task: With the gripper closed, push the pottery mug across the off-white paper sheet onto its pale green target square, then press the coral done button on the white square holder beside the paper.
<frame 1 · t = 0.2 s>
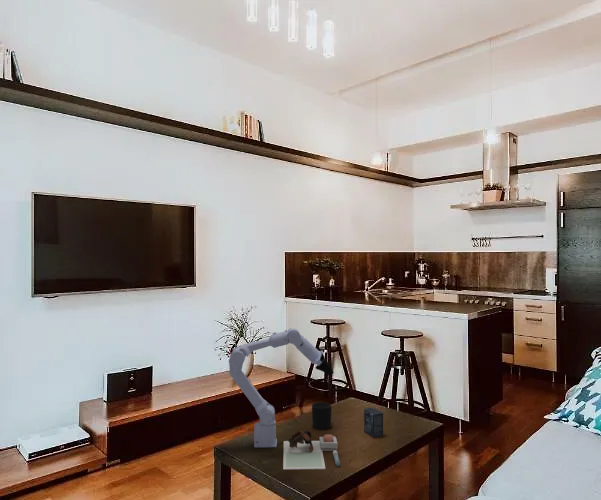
hand: (330, 371, 194), 31 cm above the table, tool tilted 45°, fingers open, 7 cm apart
pen holder: (321, 426, 213), on the table
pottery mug: (302, 449, 187), resting on paper
marker: (336, 460, 176), on the table
paper: (303, 454, 182), on the table
done button: (328, 439, 189), point 3 cm above the table, slide at 0.0 cm
white square holder: (328, 447, 189), on the table
box: (373, 434, 204), on the table
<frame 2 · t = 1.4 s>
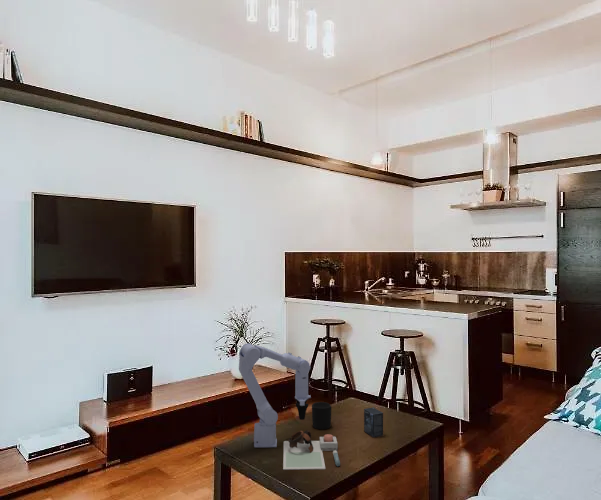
hand: (301, 416, 199), 9 cm above the table, tool pointing down, fingers open, 6 cm apart
nothing on the table moved.
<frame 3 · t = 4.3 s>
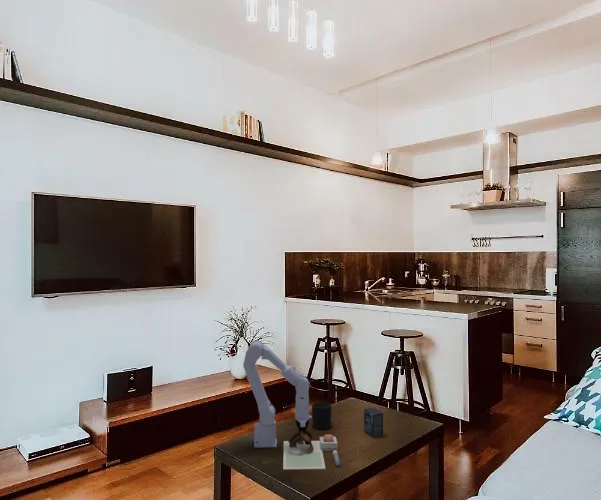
hand: (302, 437, 192), 3 cm above the table, tool pointing down, fingers closed
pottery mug: (302, 449, 186), resting on paper, touching gripper
everything else where it was.
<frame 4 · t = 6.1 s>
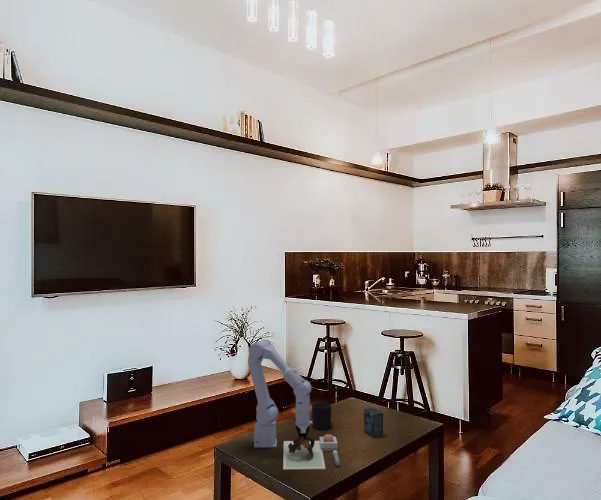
hand: (302, 444, 186), 3 cm above the table, tool pointing down, fingers closed
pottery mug: (303, 455, 180), resting on paper, touching gripper
everything else where it was.
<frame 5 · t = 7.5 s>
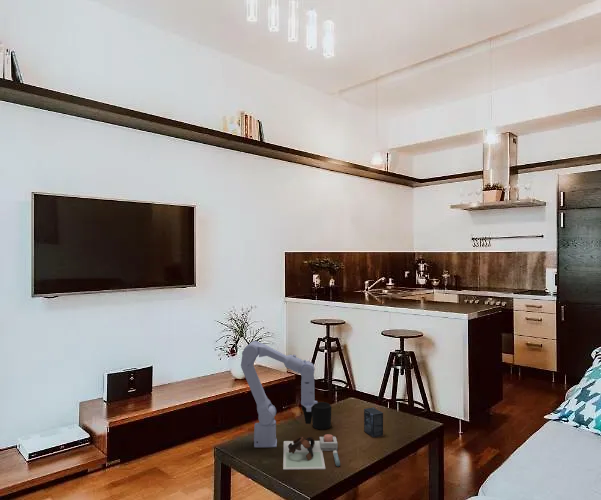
hand: (308, 423, 191), 10 cm above the table, tool pointing down, fingers closed
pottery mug: (303, 455, 180), resting on paper
everything else where it was.
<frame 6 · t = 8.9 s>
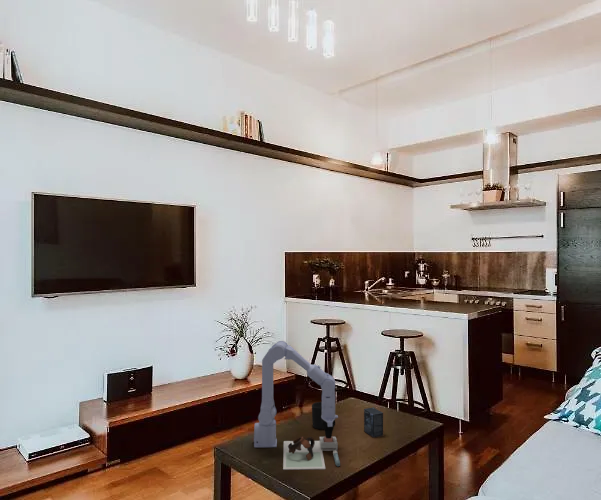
hand: (328, 437, 189), 4 cm above the table, tool pointing down, fingers closed, pressing on done button
done button: (328, 441, 189), point 2 cm above the table, slide at 0.8 cm, touching gripper
everything else where it was.
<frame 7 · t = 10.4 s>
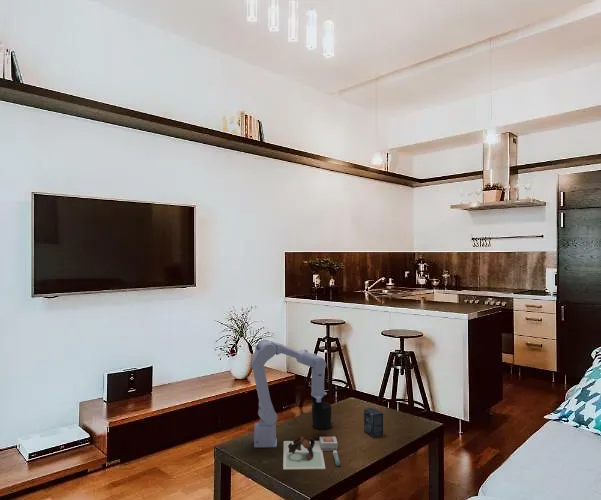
hand: (317, 413, 200), 10 cm above the table, tool pointing down, fingers closed
done button: (328, 442, 189), point 2 cm above the table, slide at 1.0 cm
everything else where it was.
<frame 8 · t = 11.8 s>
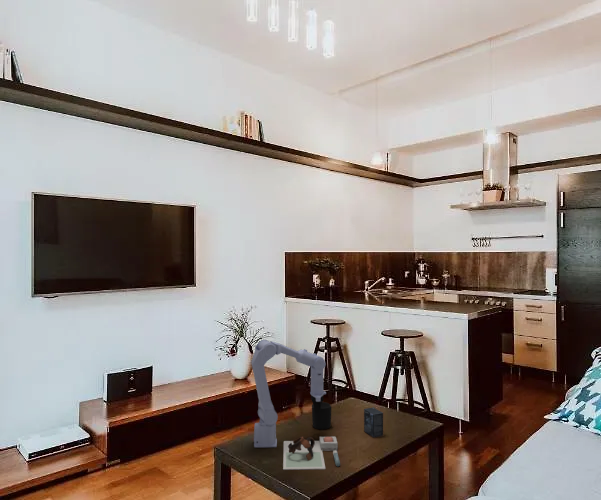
hand: (317, 412, 201), 10 cm above the table, tool pointing down, fingers closed
nothing on the table moved.
at the end: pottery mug inside the target area (3.9 cm from its centre), resting on paper; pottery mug tilted 0°; done button slide at 1.0 cm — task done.
